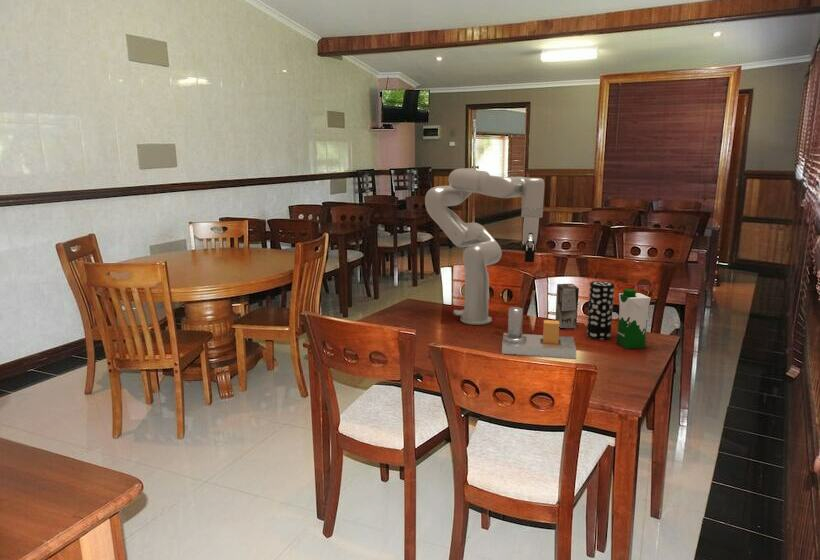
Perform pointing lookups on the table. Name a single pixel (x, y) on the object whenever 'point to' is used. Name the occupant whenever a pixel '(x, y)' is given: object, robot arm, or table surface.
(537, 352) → the grey base with post
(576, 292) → the coffee box
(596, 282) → the white-spotted black cylinder
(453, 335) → the table surface
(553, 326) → the tan upright block
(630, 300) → the milk carton
